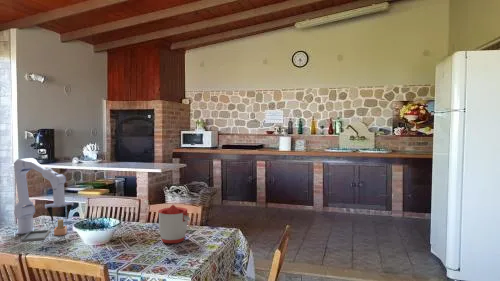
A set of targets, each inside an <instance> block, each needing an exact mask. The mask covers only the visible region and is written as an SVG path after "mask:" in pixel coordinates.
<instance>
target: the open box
mask: <svg viewBox="0 0 500 281" xmlns="http://www.w3.org/2000/svg"><path fill="white" fill-rule="evenodd" d="M63 227H64V228H63V229H58V226H55V228H54V229H53V236H62V235H63V236H64V235H66V234H67V233H68V226H67V225H63Z"/></svg>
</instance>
